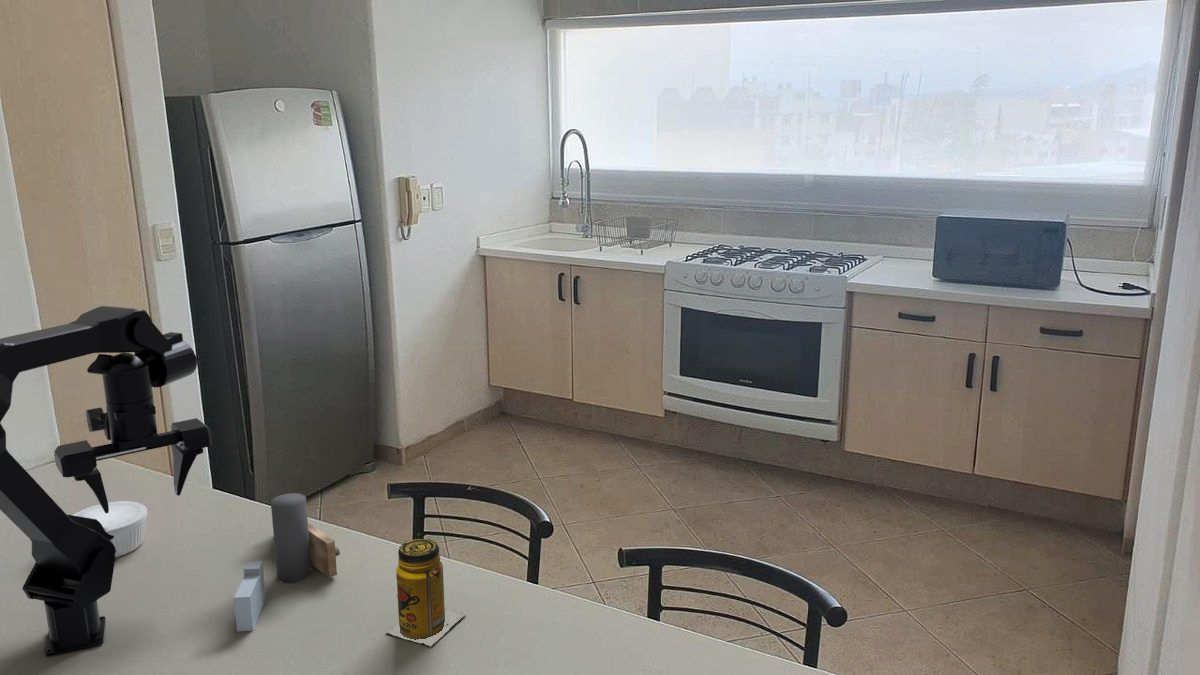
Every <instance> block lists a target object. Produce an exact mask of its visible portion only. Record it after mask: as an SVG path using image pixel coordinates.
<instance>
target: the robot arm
mask: <svg viewBox="0 0 1200 675" xmlns="http://www.w3.org/2000/svg"><path fill="white" fill-rule="evenodd" d="M107 353H108V354H107ZM115 353H116V355H112V354H115ZM133 353H134V354H133ZM91 354H98V355H97V357H96V358H95V360H93V362H92V363H91V364H90V365H89V366H88V367H87V369H86V372H87V373H89V374H93V375H102V382H103V390H104V397H105V398H104V399H105V406H106V412H104V410H103V407H97V408H90V409H86V410H85V415H86V422H87V423H86V424H87V428H88V431H89V432H90V433H95V432H100V431H103V432H104V436H105V437H106V439H107V441H110V443H106V444H102V445H97V446H91V445H90V443H89V442H88V441H87V440H82V441H81V440H80V441H76V442H70V443H66V444H61V445H60V444H59V445H57V447H56V448H55V450H54V451H53V452H54V453H53V456H54V462H55V466H56V469H57V470H58V471H59V473H60V474H61V476H62V477H63V478H72V477H73V479H74V481H75V482H80V481H85V483H86V484H87V485H88V486H89V488H90V489H91V491H92V492H93V494H94V496H95V498H96V499H97V501H98V503H99V504H100V505H101V507H102V508H103V510H104V512H105V513H109V506H108V503H109V500H108V497H107V494H106V490H105V486H104V482H103V478H102V477H103V476H102V473H101V472H100V470H99V469H98V468H97V466H98V464H97V462H98V461H103V460H107V459H112V458H117V457H123V456H125V455H130V454H136V453H140V452H145V451H150V450H154V449H158V448H159V449H160V448H163V447H164V448H165V447H168V446H170V447H171V452H172V457H173V458H172V462H173V468H172V470H173V488H174V492H175V493H174V494H175V495H176V496H177V497H178V496H181V493H182V491H183V488H184V486H185V483H186V481H187V480H186V479H187V477H188V474H189V473H190V469H191V468H192V466H193V464H194V462H195V459H196V458H197V456H199V455H201V454H203V453H204V448H208V447H211V446H212V445H213V435H212V431H211V429H210V427H208V426H207V425H206V424H205V423H204V422H203V421H201V420H200V419H199V418H197V417H196V418H192V419H186V420H181V421H176V422H172V423H171V426H170V430H171V431H165V432H161V433H158V426H157V417H156V414H157V411H156V406H155V401H154V393H153V388H161V387H164V386H166V385H169V384H171V383H174V382H176V381H179V380H181V379H184V378H187V377H188V376H189V377H190V375H192V374H193V373H195V371H196V369H197V366H198V357H197V355H196V353H195V351H194V349H193V347H191V345H189V344H188V343H187V342H186V341H184V338H183V333H182V332H173V331H170V332H166V333H164V334H163V333H162V332H161V331H160V330H159V328H158V327H157V326H156V325H155V324H154V322H153V321H152V318H151V316H150V314H148V313H147V311H146V310H145V309H142V308H133V307H122V306H121V307H120V306H111V305H100V306H98V307H96V308H93V309H91V310H88V311H86V312H84V313H81V314H80V315H79V316H78V318H77V319H76V320H74V321H72V322H69V323H66V324H61V325H57V326H52V327H47V328H43V329H42V328H41V329H37V330H34V331H29V332H25V333H20V334H15V335H10V336H6V337H1V338H0V511H1V512H2V513H3V514H4V515H5V516H6V517H7V518H8V519H9V520H10V521H11V522H12V523H13V524H14V525H15V526H16V527H17V528H18V529H19V530H20V531H21V532H22V533H23V534H24V535H25V536H26V537H28V539H29V540H30V541H31V556H32V558H33V559H34V560H35V563H34V565H33V567H32V569H31V570H30V573H29V574H28V576H27V578H26V580H25V581H24V584H23V586H22V591H23V592H24V594H25V595H26V597H27V599H29V600H39V601H43V602H44V604H43V605H44V610H45V615H46V621H47V629H48V632H47V633H48V634H47V637H46V638H47V639H46V643H45V648H44V655H45V656H46V657H50V656H55V655H58V654H59V655H60V654H63V653H68V652H72V651H77V650H82V649H86V648H91V647H95V646H100V645H103V644H104V643H105V632H106V624H107V622H106V621H107V620H106V619H107V618H106V616H104V615H101V616H100V613H99V612H100V610H99V605H98V600H99V599H101V598H103V596H105V595H107V594H109V593H110V592H111V589H112V582H113V575H114V570H115V563H116V558H115V553H116V548H115V546H114V544H113V542H112V541H110V540H111V539H113V538H114V536H113V535H109V534H108V533H107V532H106V531H105V530H104V528H103V526H102V524H101V523H100V522H99V521H98V520H96V519H91V518H85V517H79V516H73V515H74V514H73V515H72V514H68V513H66V512H65V511H64V510H63V509H62V508H61V507H60V506H59V505H58V503H57V502H56V501H55V500H54V499H53V498H52V497H51V496H50V495H49V494H48V493H47V492H46V491H45V489H44V488H43V487H42V486H41V484H39V483H38V482H37V481H36V480H35V479H34V478H33V477H32V475H31V474H29V472H28V471H27V470H26V469H25V468H24V467H23V466H22V465H21V464H20V463H19V462H18V460H17V459H16V458H14V456H13V455H12V453H10V452H9V451H8V449H7V433H6V429H4V426H3V425H2V423H1V422H2V420H3V419H4V418H5V416H6V414H7V413H8V411H9V410H10V408H11V405H12V396H13V386H14V381H15V380H16V379H17V377H18V376H19V374H20V373H22V372H27V371H31V370H35V369H37V368H41V367H45V366H50V365H53V364H57V363H61V362H64V361H69V360H72V359H76V358H81V357H84V356H88V355H91Z"/></svg>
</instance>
